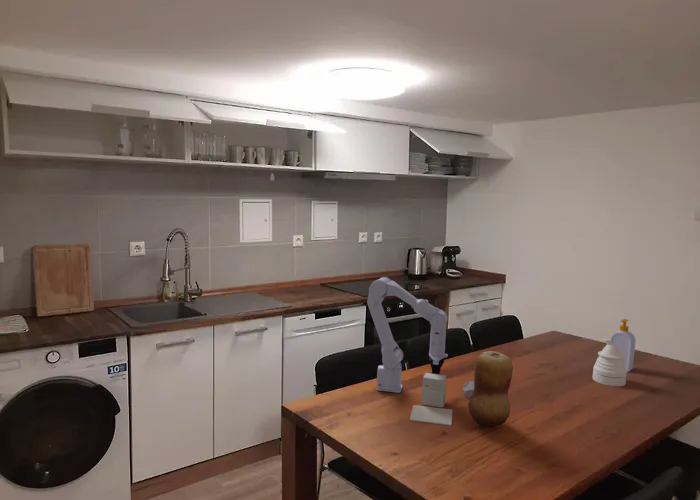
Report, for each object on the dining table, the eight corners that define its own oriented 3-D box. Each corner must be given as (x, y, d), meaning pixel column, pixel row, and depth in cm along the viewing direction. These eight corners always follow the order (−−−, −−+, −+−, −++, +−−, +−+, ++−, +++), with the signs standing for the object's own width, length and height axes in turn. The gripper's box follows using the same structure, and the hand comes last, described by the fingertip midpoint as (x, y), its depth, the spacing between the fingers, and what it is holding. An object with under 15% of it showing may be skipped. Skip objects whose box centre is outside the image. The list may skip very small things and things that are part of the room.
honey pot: (593, 383, 218) (597, 341, 216) (591, 373, 230) (595, 334, 228) (627, 388, 214) (631, 346, 212) (623, 378, 225) (627, 338, 224)
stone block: (464, 403, 197) (491, 400, 195) (462, 390, 197) (489, 388, 195) (463, 392, 209) (489, 390, 207) (462, 381, 208) (487, 378, 206)
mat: (409, 420, 175) (409, 419, 175) (413, 406, 188) (413, 405, 188) (451, 425, 172) (451, 424, 172) (452, 410, 185) (452, 409, 185)
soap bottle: (633, 369, 239) (638, 320, 236) (628, 372, 234) (633, 322, 231) (612, 364, 245) (616, 316, 242) (607, 367, 240) (612, 319, 237)
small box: (445, 402, 192) (447, 375, 191) (443, 408, 187) (444, 380, 185) (424, 399, 194) (425, 372, 193) (421, 404, 189) (422, 377, 188)
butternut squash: (502, 438, 164) (507, 362, 162) (461, 427, 171) (466, 354, 169) (513, 423, 176) (518, 352, 173) (475, 413, 183) (479, 344, 180)
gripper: (447, 348, 188) (445, 384, 189) (448, 338, 202) (446, 372, 203) (428, 347, 189) (426, 382, 191) (430, 336, 203) (428, 370, 205)
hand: (435, 377), depth 197 cm, fingers closed
